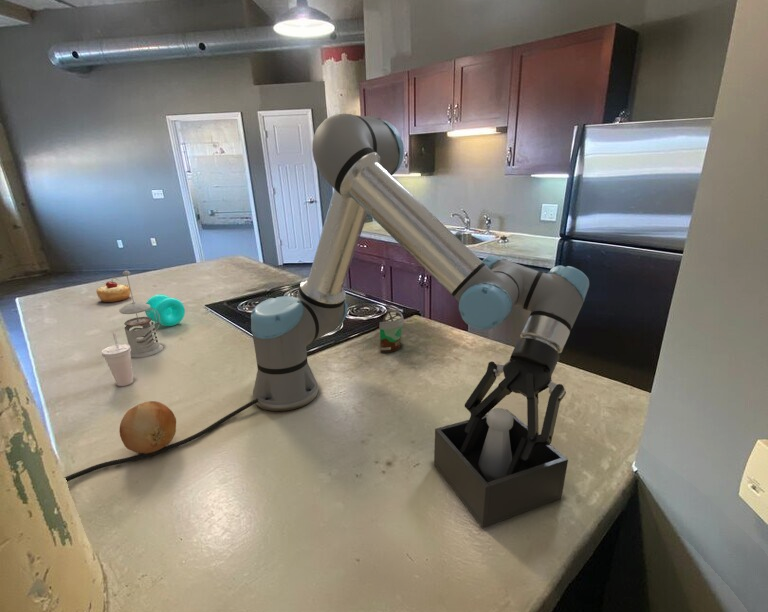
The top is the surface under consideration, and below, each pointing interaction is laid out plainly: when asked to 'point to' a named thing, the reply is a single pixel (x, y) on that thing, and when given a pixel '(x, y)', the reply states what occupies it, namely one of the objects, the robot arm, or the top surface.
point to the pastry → (113, 292)
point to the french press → (140, 329)
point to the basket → (505, 494)
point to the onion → (147, 427)
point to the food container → (391, 331)
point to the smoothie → (119, 362)
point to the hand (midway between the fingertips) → (486, 465)
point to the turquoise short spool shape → (165, 310)
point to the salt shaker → (496, 445)
